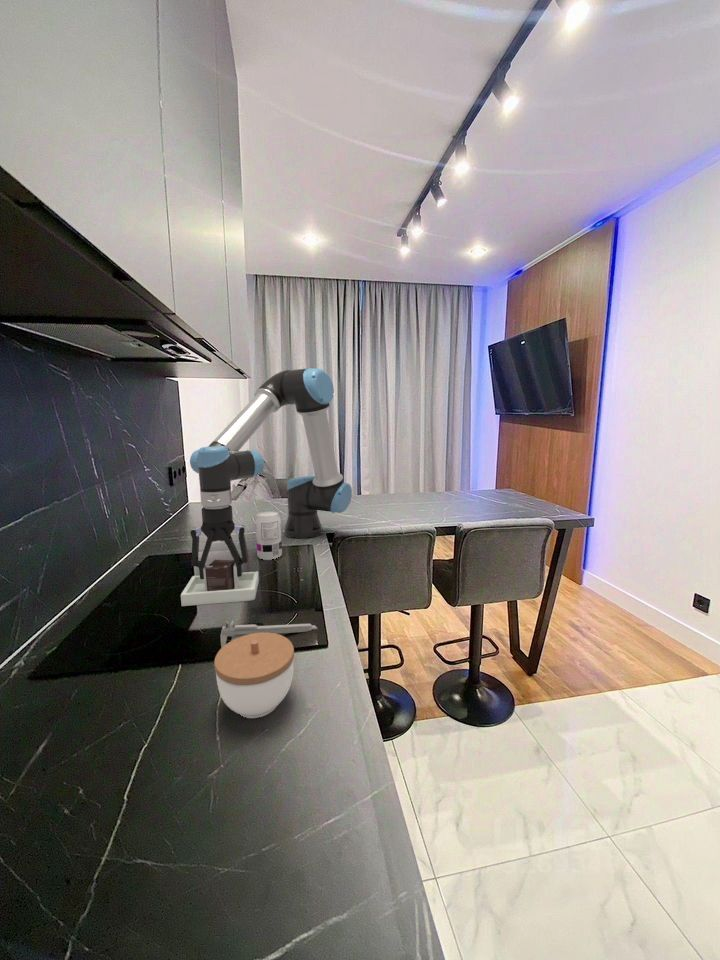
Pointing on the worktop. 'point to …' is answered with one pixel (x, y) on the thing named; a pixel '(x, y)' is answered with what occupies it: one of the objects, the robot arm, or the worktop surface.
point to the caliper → (260, 630)
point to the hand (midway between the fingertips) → (222, 588)
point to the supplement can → (268, 535)
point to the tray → (220, 591)
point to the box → (220, 575)
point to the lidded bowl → (255, 673)
